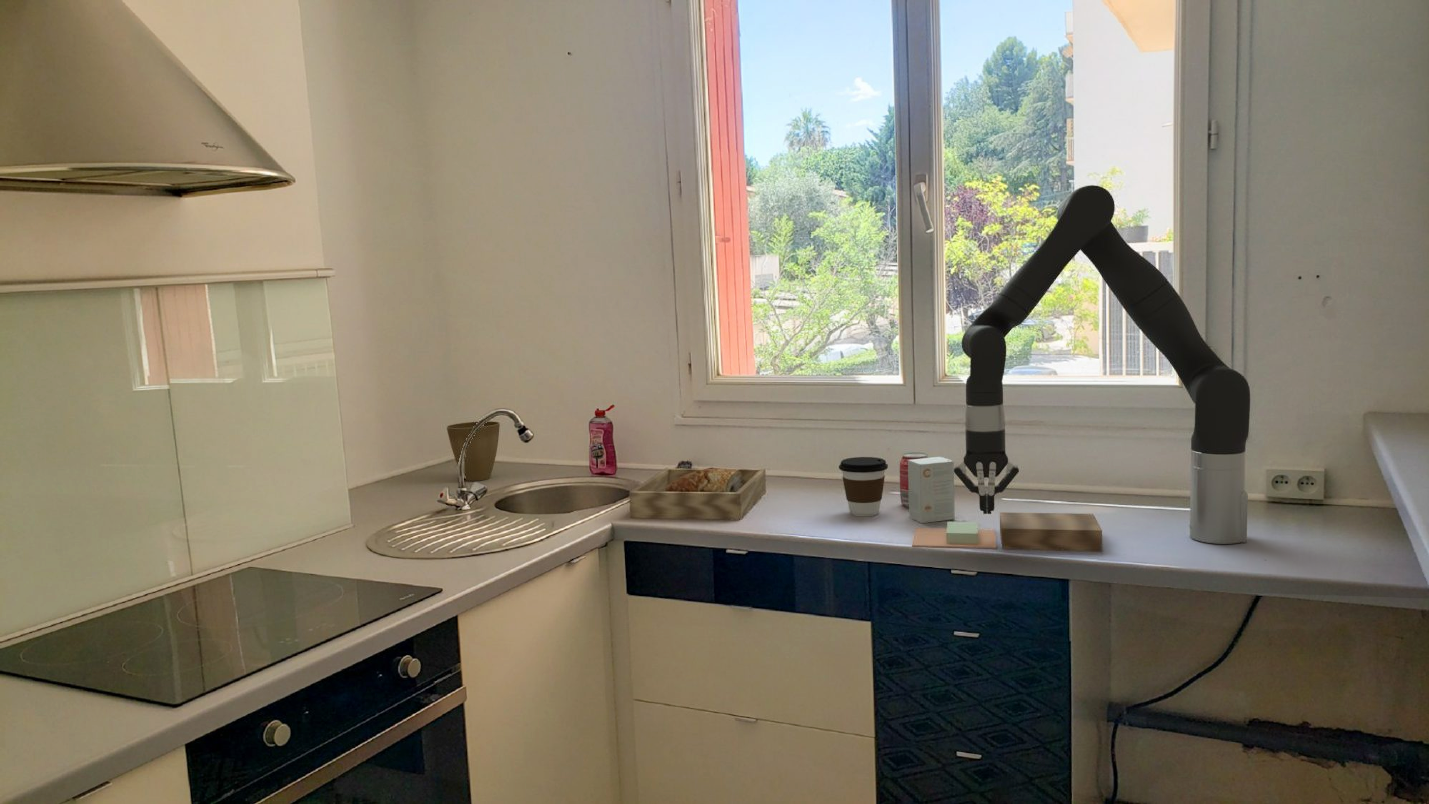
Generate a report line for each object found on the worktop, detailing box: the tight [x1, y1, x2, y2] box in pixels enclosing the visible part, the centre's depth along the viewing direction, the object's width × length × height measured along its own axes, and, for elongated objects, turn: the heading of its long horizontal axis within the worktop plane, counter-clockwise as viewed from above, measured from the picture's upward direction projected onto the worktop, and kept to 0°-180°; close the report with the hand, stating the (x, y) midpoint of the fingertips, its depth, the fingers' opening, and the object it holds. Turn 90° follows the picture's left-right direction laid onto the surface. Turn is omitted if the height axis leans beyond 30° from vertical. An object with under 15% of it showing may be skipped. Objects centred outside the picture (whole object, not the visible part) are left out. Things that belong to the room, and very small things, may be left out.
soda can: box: [899, 451, 929, 508], centre depth 224 cm, size 7×7×12 cm
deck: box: [999, 511, 1103, 552], centre depth 191 cm, size 18×13×4 cm
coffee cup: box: [838, 456, 889, 517], centre depth 220 cm, size 11×11×12 cm
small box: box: [908, 456, 956, 524], centre depth 212 cm, size 8×6×13 cm
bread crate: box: [628, 468, 767, 521], centre depth 236 cm, size 26×28×6 cm
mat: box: [911, 528, 997, 550], centre depth 196 cm, size 16×13×1 cm
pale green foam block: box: [946, 521, 979, 544], centre depth 195 cm, size 6×9×2 cm, turn 165°
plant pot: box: [446, 420, 501, 482], centre depth 281 cm, size 15×15×16 cm
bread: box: [662, 467, 743, 492], centre depth 233 cm, size 20×18×10 cm
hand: (986, 512), depth 193 cm, fingers closed
